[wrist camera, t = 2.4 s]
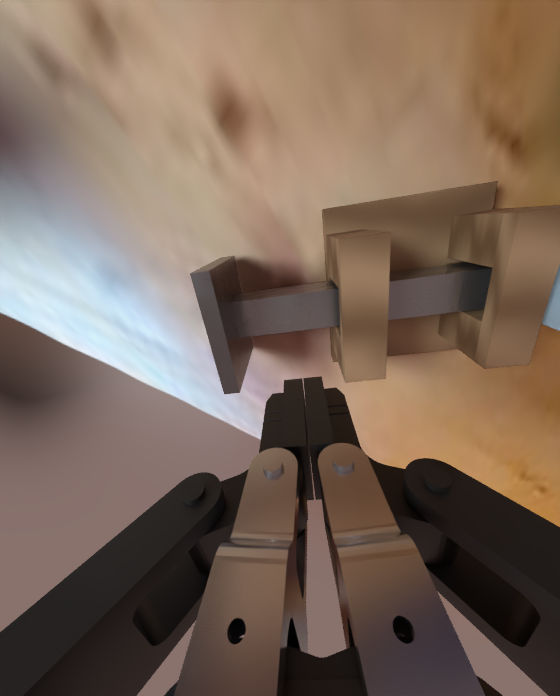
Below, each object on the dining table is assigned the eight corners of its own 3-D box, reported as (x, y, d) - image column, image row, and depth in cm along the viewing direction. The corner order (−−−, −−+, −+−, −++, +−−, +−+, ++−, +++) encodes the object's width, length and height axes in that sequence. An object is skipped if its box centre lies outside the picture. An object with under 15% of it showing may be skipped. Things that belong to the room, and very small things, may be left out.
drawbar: (221, 257, 23) (190, 273, 16) (588, 202, 20) (751, 191, 13) (241, 348, 27) (224, 394, 20) (553, 312, 24) (665, 350, 17)
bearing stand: (322, 209, 22) (337, 203, 15) (484, 183, 21) (590, 162, 14) (331, 355, 28) (346, 402, 21) (458, 341, 27) (522, 386, 20)
